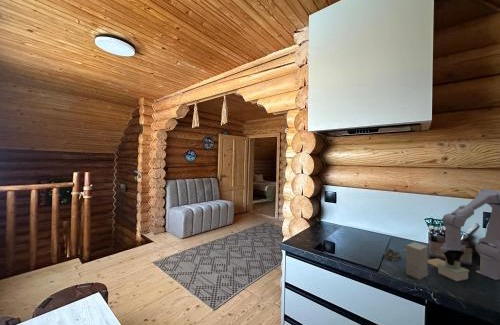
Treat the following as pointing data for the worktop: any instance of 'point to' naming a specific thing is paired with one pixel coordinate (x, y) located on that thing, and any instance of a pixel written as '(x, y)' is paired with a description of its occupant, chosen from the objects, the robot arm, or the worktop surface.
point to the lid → (453, 267)
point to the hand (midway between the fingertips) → (452, 264)
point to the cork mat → (435, 262)
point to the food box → (452, 274)
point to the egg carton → (392, 255)
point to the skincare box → (416, 260)
